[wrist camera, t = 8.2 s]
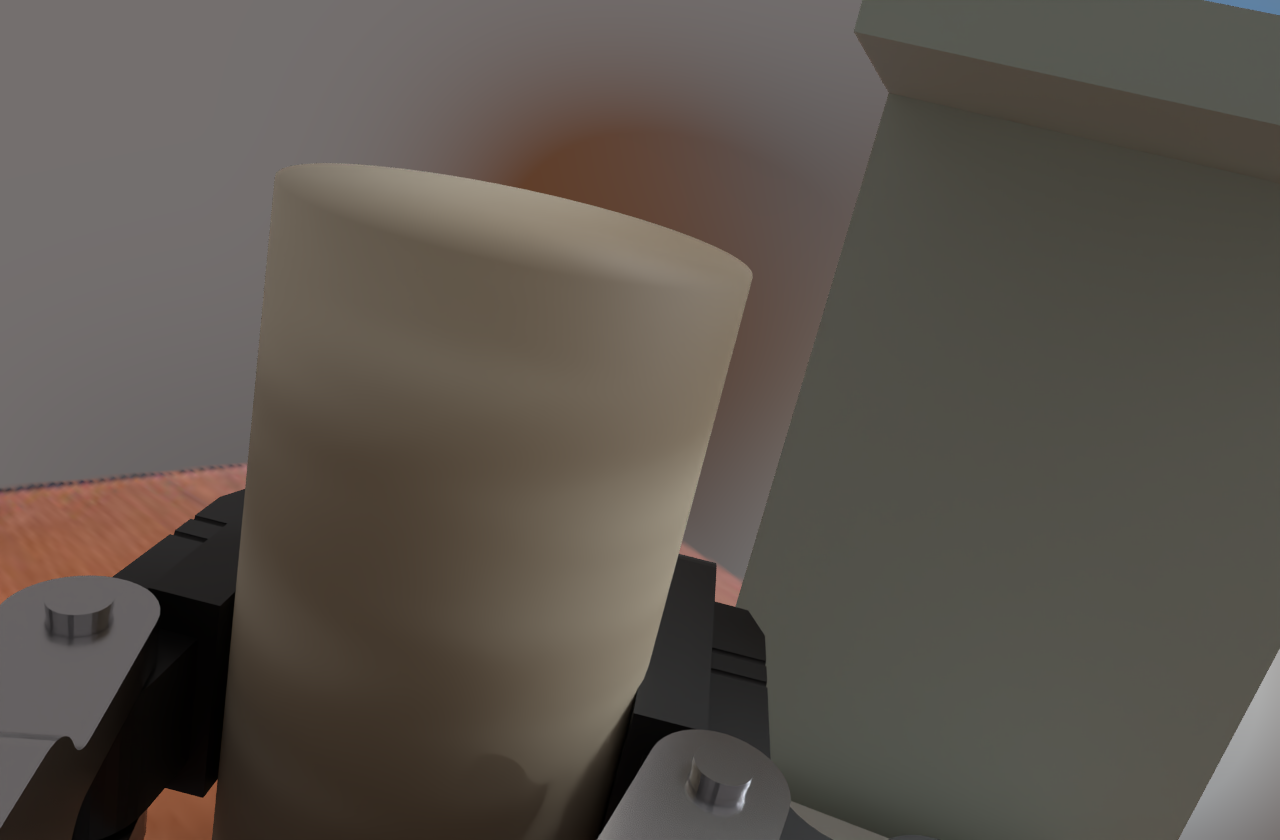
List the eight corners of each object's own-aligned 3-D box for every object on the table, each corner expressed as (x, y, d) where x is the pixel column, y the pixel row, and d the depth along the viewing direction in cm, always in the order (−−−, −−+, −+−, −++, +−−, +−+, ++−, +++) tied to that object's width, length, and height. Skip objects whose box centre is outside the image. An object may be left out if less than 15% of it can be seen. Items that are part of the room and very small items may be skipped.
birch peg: (94, 1256, 10) (153, 167, 7) (308, 967, 14) (427, 161, 10) (417, 1433, 10) (698, 321, 6) (554, 1080, 13) (781, 255, 10)
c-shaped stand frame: (519, 1221, 21) (880, -64, 12) (689, 765, 37) (902, 53, 28) (1275, 1600, 18) (2459, 250, 9) (1110, 928, 34) (1497, 186, 25)
